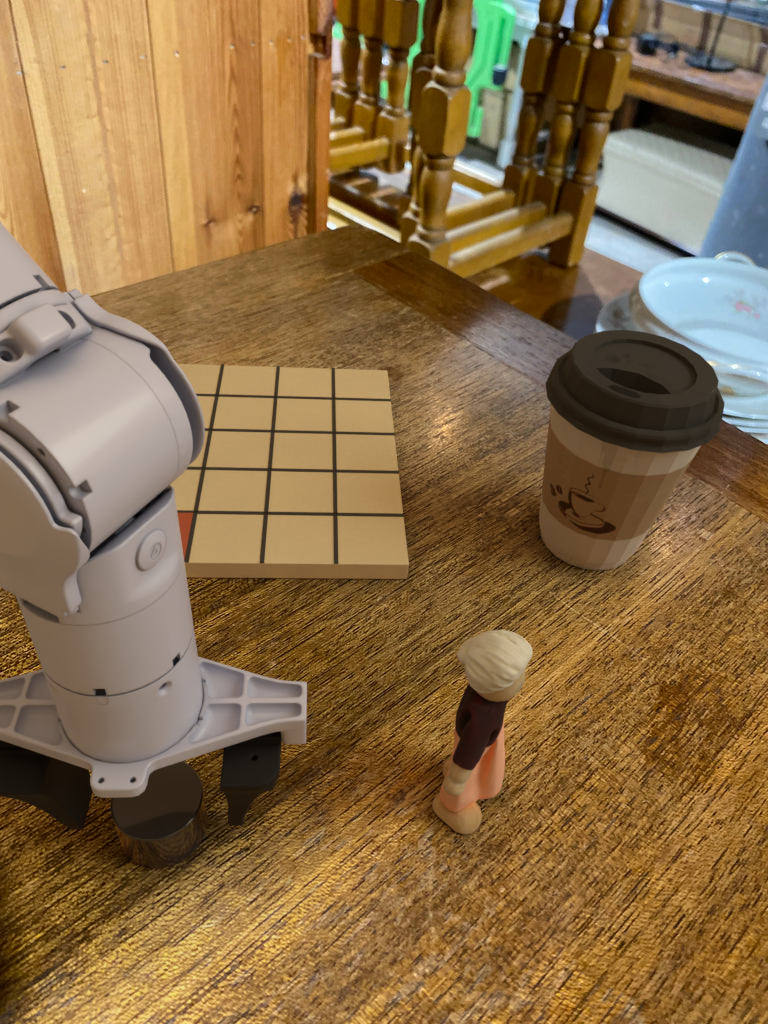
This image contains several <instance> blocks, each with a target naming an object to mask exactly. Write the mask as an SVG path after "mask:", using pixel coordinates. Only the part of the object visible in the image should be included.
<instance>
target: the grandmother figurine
mask: <svg viewBox="0 0 768 1024" xmlns="http://www.w3.org/2000/svg"><path fill="white" fill-rule="evenodd" d="M533 651H534V650H533V647H532V645H531V643H529V642H528V639H526V638H524V637H523V636H522V635H520V634H518V633H516V632H514V631H511V630H506V629H493V630H488V631H487V630H486V631H483V632H480V633H478V634H476V635H475V636H474V637H470V638H468V639H467V640H465V641H463V642H462V643H461V645H460V647H459V648H458V650H457V654H456V657H457V660H458V662H459V663H460V664H462V665H464V675H465V677H466V679H467V682H468V684H467V685H466V687H465V689H464V691H463V693H462V697H461V699H460V701H459V704H458V706H457V710H456V713H455V720H454V725H455V727H454V737H453V738H454V739H453V749H452V753H451V756H449V757H448V758H447V759H445V761H444V762H443V766H442V771H441V772H442V776H443V778H444V779H443V781H442V784H441V786H440V790H439V792H438V793H437V794H436V795H435V796H434V798H433V800H432V802H431V808H432V810H433V813H434V814H435V815H436V816H437V817H438V818H439V819H440V820H442V821H443V822H444V823H445V825H447V826H448V827H449V828H451V829H452V830H453V831H454V832H455V833H457V834H461V835H471V834H473V833H475V832H476V831H477V830H478V828H479V827H480V826H481V823H482V820H483V815H482V809H481V807H480V806H479V804H478V803H477V801H479V800H488V799H492V798H494V797H496V796H497V795H498V794H499V793H500V792H501V790H502V787H503V781H504V776H505V768H506V747H505V722H504V721H505V720H504V719H505V714H506V709H507V707H508V706H507V705H508V702H509V700H511V699H513V698H514V697H515V696H517V694H519V692H520V691H521V690H522V688H523V687H524V683H525V680H526V670H527V666H528V664H529V662H530V661H531V660H532V657H533V654H534V653H533Z"/></svg>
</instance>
